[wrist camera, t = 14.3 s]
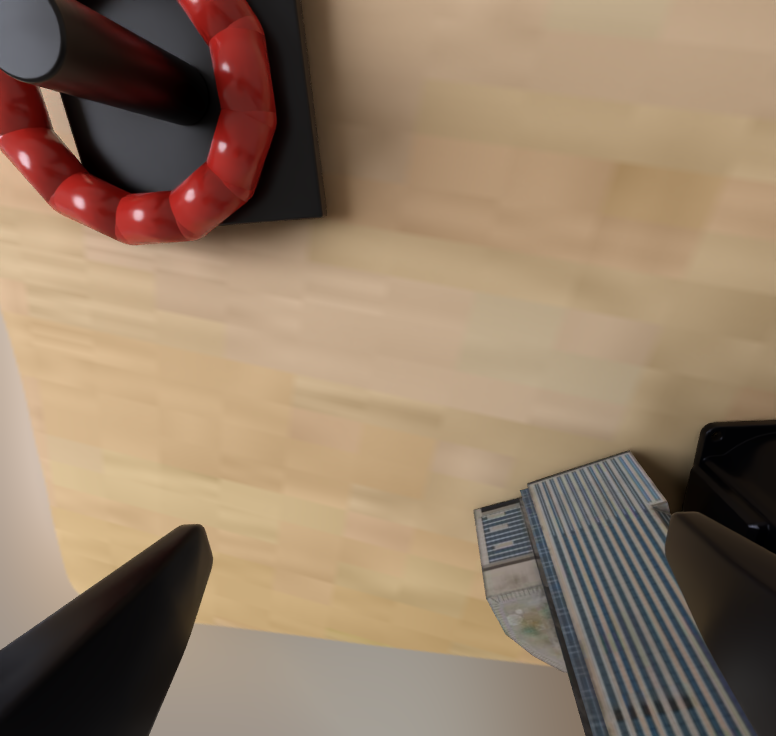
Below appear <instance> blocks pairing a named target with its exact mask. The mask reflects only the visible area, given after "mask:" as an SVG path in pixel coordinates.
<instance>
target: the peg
mask: <svg viewBox="0 0 776 736" xmlns="http://www.w3.org/2000/svg"><path fill="white" fill-rule="evenodd" d="M246 1H247V2H248V4H249V6H250V7H251V9H252V10H253V12H254V13H255V15H256V16H257V18H258V19H259V21H260V23H261V25H262V27H263V30H264V34H265V39H266V46H267V52H268V59H269V66H270V72H271V79H272V86H273V92H274V99H275V106H276V113H277V125H276V130H275V133H274V136H273V139H272V142H271V145H270V148H269V151H268V154H267V157H266V160H265V163H264V166H263V169H262V172H261V175H260V178H259V181H258V184H257V187H256V190H255V193H254V194H253V196H252V198H251V199H250V200H249V201H248V202H246V203H245V204H244V205H243V206H241V207H240V208H239V209H238V210H236V211H235V212H234V213H233V214H232V215H230V216H229V217H228V218H227V219H225V220H224V221H223V222H222V223H220V224H219V225H218V226H221V225H234V224H247V223H259V222H272V221H284V220H297V219H309V218H321V217H325V216H327V210H326V202H325V194H324V185H323V177H322V169H321V161H320V153H319V144H318V136H317V128H316V120H315V112H314V104H313V95H312V87H311V79H310V71H309V63H308V54H307V46H306V38H305V30H304V22H303V14H302V5H301V0H246ZM0 69H1V70H2V71H3V72H5V73H6V74H7V75H9V76H11V77H12V78H14V79H16V80H19V81H21V82H25V83H29V84H32V85H36V86H40V87H43V88H47V89H50V90H54V91H58V92H60V95H61V98H62V101H63V105H64V108H65V111H66V114H67V118H68V121H69V124H70V127H71V131H72V134H73V137H74V140H75V144H76V147H77V150H78V153H79V157H80V160H81V163H82V165H83V166H84V168H85V169H86V170H87V171H88V172H89V174H91V175H93V176H95V177H98V178H100V179H102V180H104V181H106V182H108V183H110V184H112V185H114V186H116V187H118V188H120V189H123V190H125V191H127V192H129V193H131V194H135V193H147V192H159V191H171V190H174V189H175V188H176V187H177V186H178V185H179V184H180V183H182V182H183V181H184V180H185V179H186V178H187V177H189V176H190V175H191V174H192V173H193V172H194V171H195V170H197V169H198V168H199V167H200V166H201V165H202V164H203V163H205V162H206V160H207V156H208V152H209V149H210V145H211V142H212V138H213V135H214V131H215V128H216V124H217V121H218V117H219V114H220V110H221V108H220V102H219V97H218V92H217V87H216V81H215V76H214V71H213V66H212V60H211V55H210V50H209V47H208V45H207V44H206V42H205V41H204V39H203V38H202V36H201V35H200V34H199V32H198V31H197V29H196V28H195V26H194V25H193V23H192V22H191V20H190V19H189V18H188V16H187V15H186V13H185V12H184V10H183V9H182V7H181V6H180V5H179V3H178V2H177V0H0Z"/></svg>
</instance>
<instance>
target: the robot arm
mask: <svg viewBox="0 0 776 736" xmlns="http://www.w3.org/2000/svg"><path fill="white" fill-rule="evenodd" d="M715 432H717V434H716V435H714V436H712V434H714V433H715ZM711 436H712V437H711ZM665 555H666V559H667V561H668V563H669V566H670V568H671V570H672V572H673V575H674V577H675V579H676V581H677V583H678V586H679V588H680V590H681V592H682V594H683V597H684V599H685V601H686V603H687V605H688V608H689V610H690V612H691V614H692V617H693V619H694V621H695V623H696V625H697V628H698V630H699V632H700V634H701V636H702V638H703V640H704V642H705V644H706V646H707V648H708V650H709V652H710V653H711V655H712V657H713V659H714V661H715V662H716V664H717V666H718V668H719V669H720V671H721V673H722V675H723V676H724V678H725V680H726V682H727V683H728V685H729V687H730V689H731V690H732V692H733V694H734V696H735V697H736V699H737V701H738V703H739V704H740V706H741V708H742V710H743V711H744V713H745V715H746V717H747V718H748V720H749V722H750V724H751V725H752V727H753V729H754V731H755V732H756V734H757V736H776V420H764V421H739V422H714V423H709V424H707V425H705V426H704V427H703V428H702V430H701V432H700V437H699V441H698V446H697V450H696V455H695V459H694V464H693V467H692V469H691V472H690V476H689V481H688V486H687V490H686V495H685V499H684V504H683V512H675V513H673V514H672V516H671V518H670V522H669V526H668V531H667V536H666V541H665ZM212 564H213V556H212V551H211V548H210V545H209V541H208V538H207V535H206V531H205V529H204V527H203V526H202V525H200V524H187V525H181V526H179V527H177V528H176V529H174V530H173V531H171V532H170V533H168V534H167V535H166V536H164V537H163V538H161V539H160V540H158V541H157V542H156V543H154V544H153V545H151V546H150V547H148V548H147V549H145V550H144V551H143V552H141V553H140V554H138V555H137V556H135V557H134V558H132V559H131V560H130V561H128V562H127V563H125V564H124V565H122V566H121V567H120V568H118V569H117V570H115V571H114V572H112V573H111V574H109V575H108V576H107V577H105V578H104V579H102V580H101V581H99V582H98V583H96V584H95V585H94V586H92V587H91V588H89V589H88V590H86V591H85V592H83V593H82V594H81V595H79V596H78V597H76V598H75V599H73V600H72V601H71V602H69V603H68V604H66V605H65V606H63V607H62V608H60V609H59V610H58V611H56V612H55V613H54V614H52V615H50V616H49V617H47V618H46V619H45V620H43V621H42V622H40V623H39V624H37V625H36V626H34V627H33V628H32V629H30V630H29V631H27V632H26V633H24V634H23V635H22V636H20V637H19V638H17V639H16V640H14V641H13V642H11V643H10V644H9V645H7V646H6V647H4V648H3V649H2V650H0V736H149V734H150V731H151V729H152V727H153V724H154V722H155V720H156V717H157V715H158V712H159V710H160V708H161V705H162V703H163V701H164V698H165V696H166V694H167V691H168V689H169V687H170V684H171V682H172V680H173V677H174V675H175V672H176V670H177V668H178V666H179V663H180V661H181V659H182V656H183V653H184V651H185V649H186V646H187V643H188V640H189V637H190V635H191V632H192V628H193V625H194V622H195V619H196V616H197V613H198V610H199V607H200V603H201V600H202V597H203V594H204V591H205V588H206V585H207V581H208V578H209V575H210V572H211V569H212Z"/></svg>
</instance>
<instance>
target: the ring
mask: <svg viewBox="0 0 776 736" xmlns="http://www.w3.org/2000/svg"><path fill="white" fill-rule="evenodd" d="M177 2H178V3H179V5H180V6H181V7H182V9H183V10H184V12H185V13H186V15H187V16H188V18H189V19H190V20H191V22H192V23H193V25H194V26H195V28H196V29H197V31H198V32H199V34H200V35H201V36H202V38H203V39H204V41H205V42H206V44H207V45H208V47H209V50H210V55H211V60H212V66H213V71H214V76H215V81H216V87H217V92H218V97H219V102H220V108H221V110H220V114H219V117H218V121H217V124H216V128H215V131H214V135H213V138H212V142H211V145H210V149H209V152H208V156H207V160H206V162H205V163H203V164H202V165H201V166H200V167H199V168H198V169H197V170H195V171H194V172H193V173H192V174H191V175H190V176H189V177H187V178H186V179H185V180H184V181H183V182H182V183H180V184H179V185H178V186H177V187H176V188H175V189H174V190H171V191H159V192H147V193H135V194H131V193H129V192H127V191H125V190H123V189H120V188H118V187H116V186H114V185H112V184H110V183H108V182H106V181H104V180H102V179H100V178H98V177H95V176H93V175H91V174H89V172H88V171H87V170H86V169H85V168H84V166H83V165H82V164H81V163H80V162H79V160H78V159H77V158H76V157H75V156H74V155H73V153H72V152H71V151H70V150H69V149H68V147H67V146H66V145H65V144H64V143H63V141H62V140H61V139H60V138H59V137H58V135H57V134H56V133H55V132H54V130H53V127H52V124H51V121H50V118H49V114H48V111H47V108H46V105H45V102H44V99H43V96H42V93H41V89H40V86H36V85H32V84H29V83H25V82H21V81H19V80H16V79H14V78H12V77H11V76H9V75H7V74H6V73H5V72H3V71H2V70H1V69H0V150H1V151H2V152H3V153H4V154H5V156H6V157H7V158H8V159H9V160H10V161H11V162H12V163H13V165H14V166H15V167H16V168H17V169H18V170H19V171H20V172H21V174H22V175H23V176H24V177H25V178H26V179H27V180H28V181H29V183H30V184H31V185H32V186H33V187H34V188H35V189H36V190H37V192H38V193H39V194H40V195H41V196H42V197H43V198H44V199H45V201H46V202H47V203H48V204H49V205H50V206H51V207H52V208H53V209H54V210H55V211H57V212H58V213H60V214H62V215H64V216H66V217H68V218H70V219H72V220H75V221H77V222H79V223H81V224H83V225H85V226H87V227H90V228H92V229H94V230H96V231H98V232H100V233H102V234H105V235H107V236H109V237H111V238H113V239H115V240H117V241H120V242H122V243H125V244H129V245H144V244H157V243H170V242H184V241H195V240H198V239H201V238H203V237H204V236H206V235H207V234H208V233H209V232H211V231H212V230H213V229H214V228H215V227H217V226H218V225H219V224H220V223H222V222H223V221H224V220H225V219H227V218H228V217H229V216H230V215H232V214H233V213H234V212H235V211H236V210H238V209H239V208H240V207H241V206H243V205H244V204H245V203H246V202H248V201H249V200H250V199H251V198H252V196H253V194H254V193H255V190H256V187H257V184H258V181H259V178H260V175H261V172H262V169H263V166H264V163H265V160H266V157H267V154H268V151H269V148H270V145H271V142H272V139H273V136H274V133H275V130H276V125H277V113H276V106H275V99H274V92H273V86H272V79H271V72H270V66H269V59H268V52H267V46H266V39H265V34H264V30H263V27H262V25H261V23H260V21H259V19H258V18H257V16H256V15H255V13H254V12H253V10H252V9H251V7H250V6H249V4H248V2H247V1H246V0H177Z"/></svg>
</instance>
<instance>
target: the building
mask: <svg viewBox="0 0 776 736" xmlns="http://www.w3.org/2000/svg"><path fill="white" fill-rule="evenodd" d="M527 485H528V488H527V489H524V490H520V492H521V495H522V498H517V499H513V500H509V501H506V502H502V503H498V504H494V505H491V506H487V507H483V508H480V509H476V510H474V517H475V524H476V531H477V538H478V545H479V552H480V559H481V566H482V573H483V580H484V587H485V594H486V599H487V601H488V603H489V604H490V606H491V608H492V610H493V612H494V614H495V616H496V617H497V619H498V621H499V623H500V625H501V627H502V628H503V630H504V632H505V634H506V635H507V636H509V637H510V638H511V639H512V640H514V641H515V642H516V643H517V644H519V645H520V646H521V647H522V648H524V649H525V650H526V651H528V652H529V653H530V654H531V655H533V656H534V657H536V658H538V659H540V660H542V661H544V662H545V663H547V664H549V665H551V666H553V667H555V668H557V669H559V670H560V671H562V672H566V673H568V676H569V679H570V683H571V686H572V690H573V693H574V697H575V700H576V704H577V707H578V711H579V714H580V718H581V721H582V725H583V728H584V732H585V735H586V736H757V734H756V732H755V731H754V729H753V727H752V725H751V724H750V722H749V720H748V718H747V717H746V715H745V713H744V711H743V710H742V708H741V706H740V704H739V703H738V701H737V699H736V697H735V696H734V694H733V692H732V690H731V689H730V687H729V685H728V683H727V682H726V680H725V678H724V676H723V675H722V673H721V671H720V669H719V668H718V666H717V664H716V662H715V661H714V659H713V657H712V655H711V653H710V652H709V650H708V648H707V646H706V644H705V642H704V640H703V638H702V636H701V634H700V632H699V630H698V628H697V625H696V623H695V621H694V619H693V617H692V614H691V612H690V610H689V608H688V605H687V603H686V601H685V599H684V597H683V594H682V592H681V590H680V588H679V586H678V583H677V581H676V579H675V577H674V575H673V572H672V570H671V568H670V566H669V563H668V561H667V559H666V555H665V541H666V536H667V531H668V526H669V522H670V518H671V516H672V515H671V514H670V510H669V505H668V502H667V501H666V499H665V498H664V496H663V495H662V494H661V492H660V491H659V490H658V488H657V487H656V486H655V484H654V483H653V481H652V480H651V479H650V477H649V476H648V475H647V473H646V472H645V471H644V469H643V468H642V467H641V465H640V464H639V462H638V461H637V460H636V458H635V457H634V456H633V454H632V453H631V452H630V450H629V451H626V452H623V453H620V454H616V455H613V456H610V457H607V458H604V459H601V460H598V461H595V462H592V463H589V464H586V465H583V466H580V467H577V468H574V469H571V470H568V471H564V472H561V473H558V474H555V475H552V476H549V477H546V478H543V479H540V480H537V481H534V482H531V483H528V484H527Z"/></svg>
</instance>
